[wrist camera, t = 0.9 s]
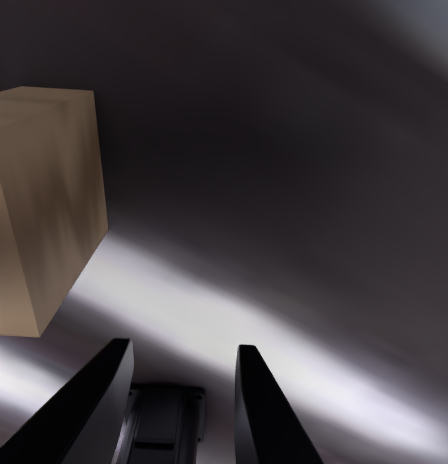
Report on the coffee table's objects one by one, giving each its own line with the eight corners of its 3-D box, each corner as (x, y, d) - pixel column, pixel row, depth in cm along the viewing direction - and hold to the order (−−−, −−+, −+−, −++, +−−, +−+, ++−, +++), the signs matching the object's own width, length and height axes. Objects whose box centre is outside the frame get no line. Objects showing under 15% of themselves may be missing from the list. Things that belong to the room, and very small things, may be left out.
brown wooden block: (108, 229, 22) (39, 337, 14) (49, 225, 22) (-52, 332, 14) (93, 90, 18) (-13, 132, 10) (22, 86, 18) (-139, 124, 10)
